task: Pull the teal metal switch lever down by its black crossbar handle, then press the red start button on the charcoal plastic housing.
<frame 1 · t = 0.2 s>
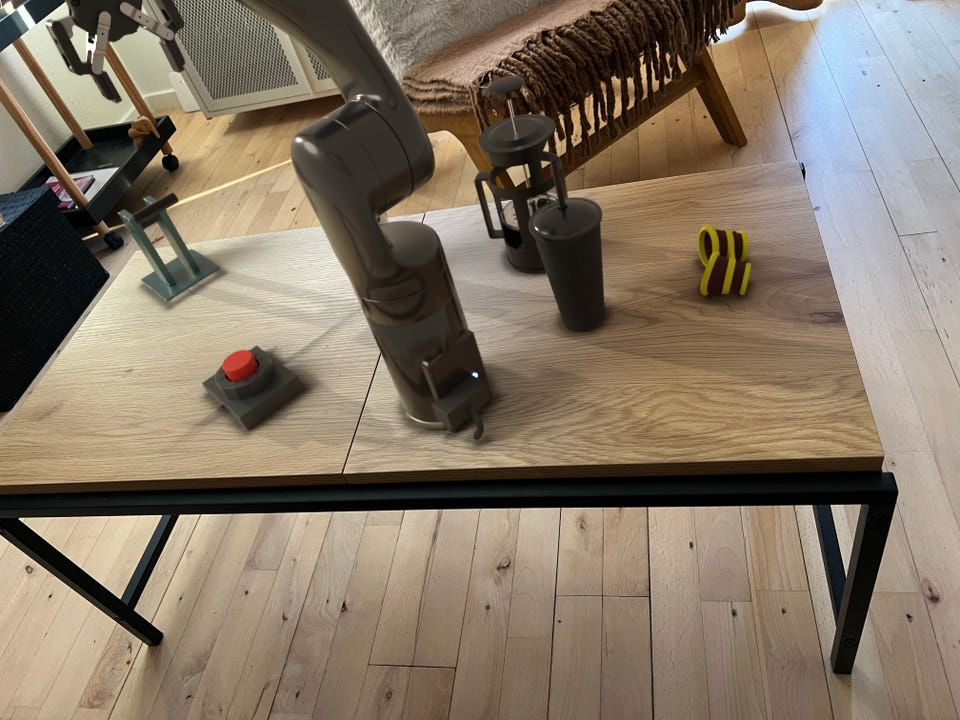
hand: (149, 86, 95), 29 cm above the table, tool pointing down, fingers open, 8 cm apart
button: (240, 365, 90), point 4 cm above the table, slide at 0.1 cm
french press: (539, 253, 101), on the table
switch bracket: (182, 279, 118), on the table
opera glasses: (724, 277, 89), on the table
button box: (256, 392, 93), on the table
lever: (150, 213, 107), point 13 cm above the table, hinge at 25.0°
beer glass: (384, 280, 105), on the table
drinking cup: (584, 319, 89), on the table
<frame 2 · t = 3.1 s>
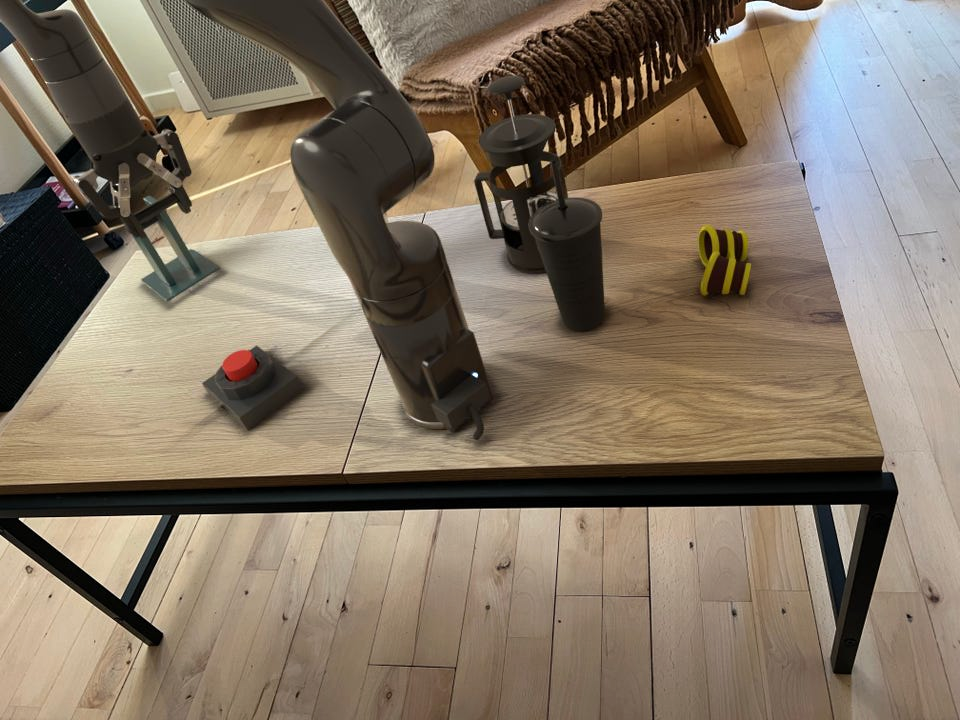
hand: (164, 223, 104), 13 cm above the table, tool pointing down, fingers closed on lever, 6 cm apart
lever: (150, 213, 107), point 13 cm above the table, hinge at 24.9°, touching gripper
everything else where it was.
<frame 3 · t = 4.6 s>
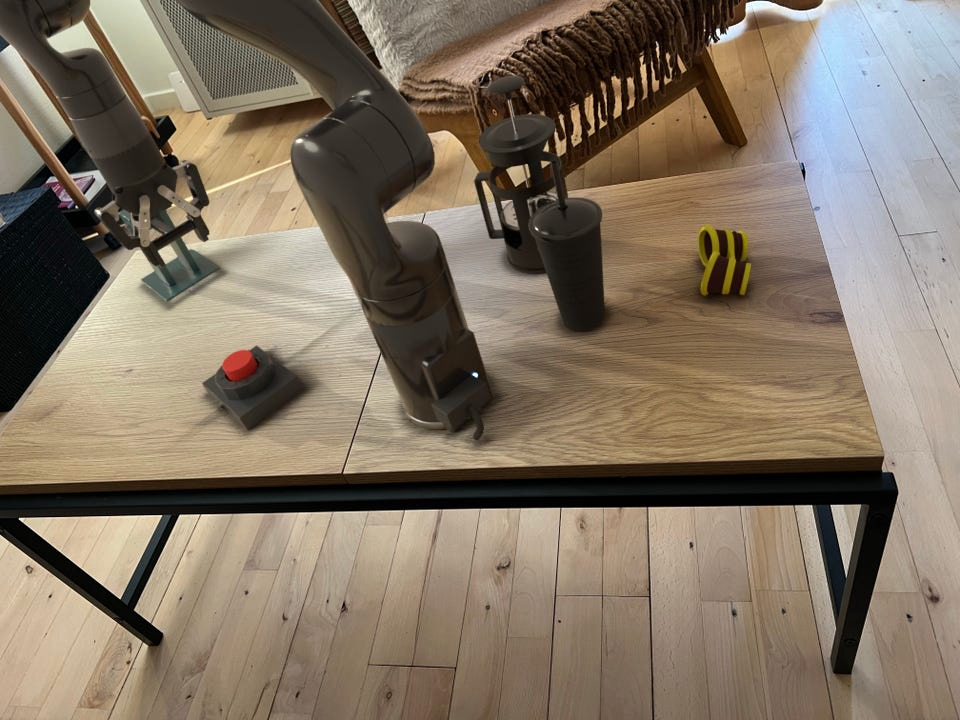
hand: (183, 251, 106), 9 cm above the table, tool pointing down, fingers closed on lever, 6 cm apart
lever: (158, 225, 107), point 11 cm above the table, hinge at 1.7°, touching gripper
everything else where it was.
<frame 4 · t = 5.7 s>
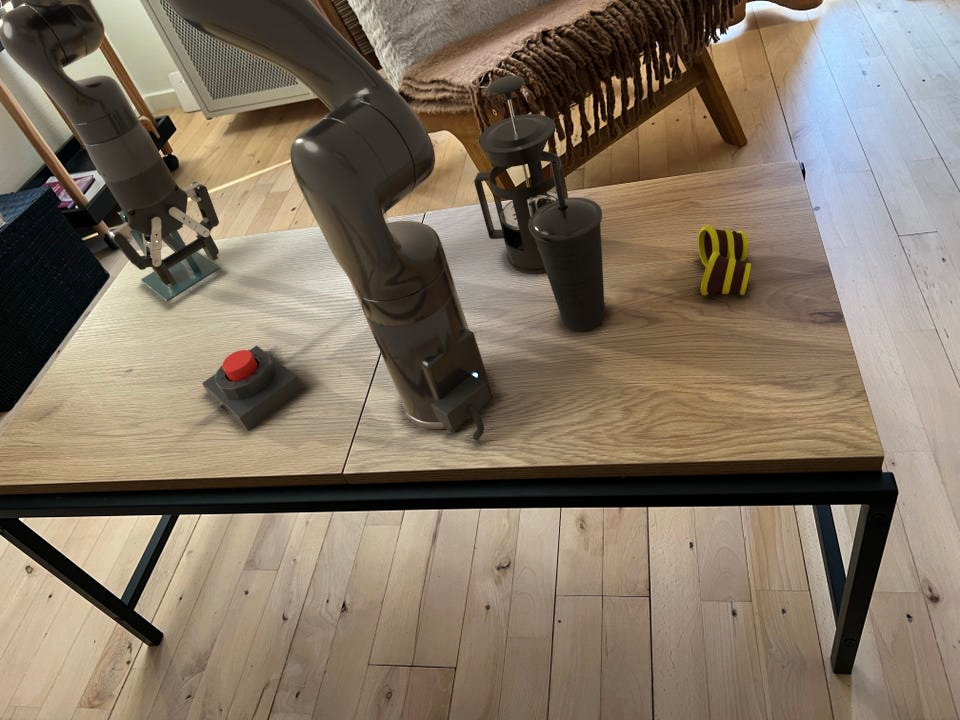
hand: (193, 270, 108), 5 cm above the table, tool pointing down, fingers closed on lever, 6 cm apart
lever: (162, 234, 109), point 10 cm above the table, hinge at -16.6°, touching gripper
everything else where it was.
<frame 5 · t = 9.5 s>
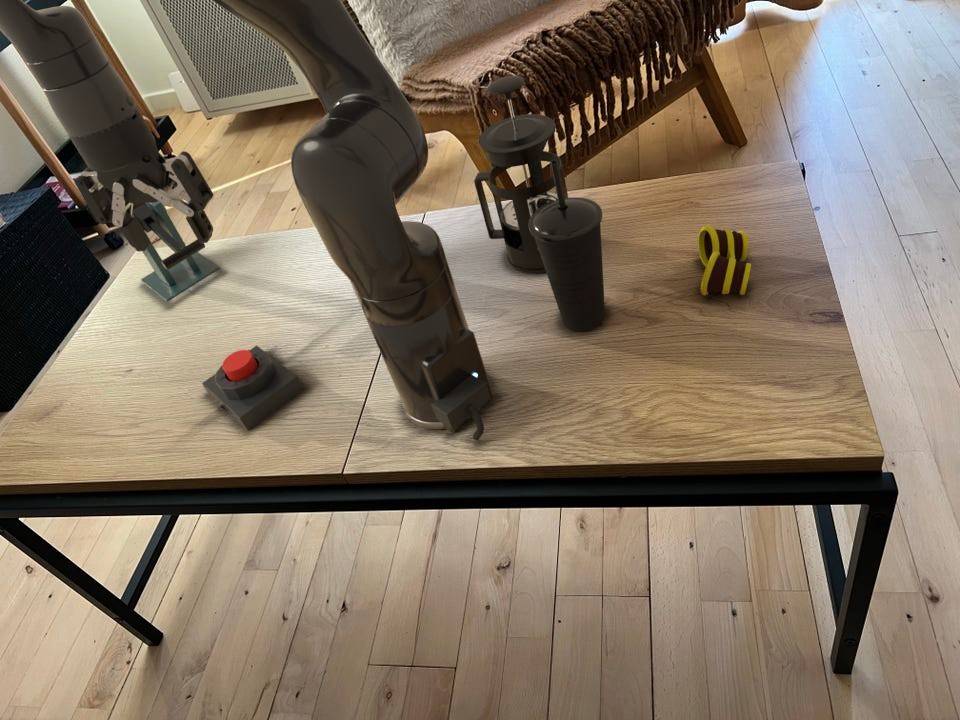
hand: (175, 243, 92), 16 cm above the table, tool pointing down, fingers open, 8 cm apart
lever: (163, 234, 109), point 10 cm above the table, hinge at -17.1°
everything else where it was.
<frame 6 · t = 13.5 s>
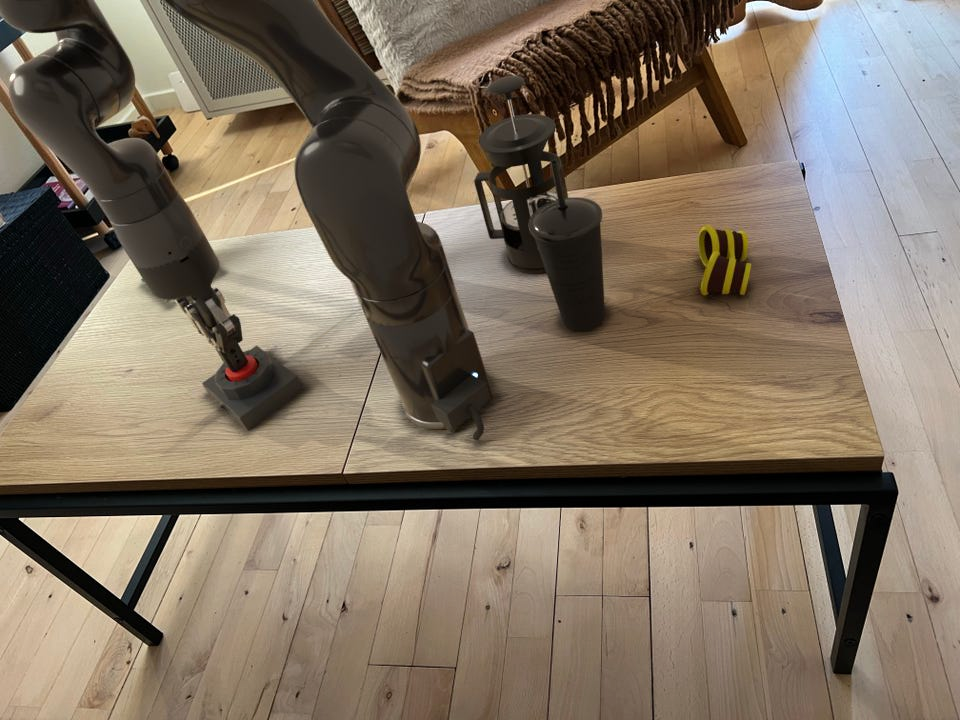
hand: (238, 366, 90), 4 cm above the table, tool pointing down, fingers closed
button: (243, 371, 91), point 4 cm above the table, slide at -0.8 cm, touching gripper
everything else where it was.
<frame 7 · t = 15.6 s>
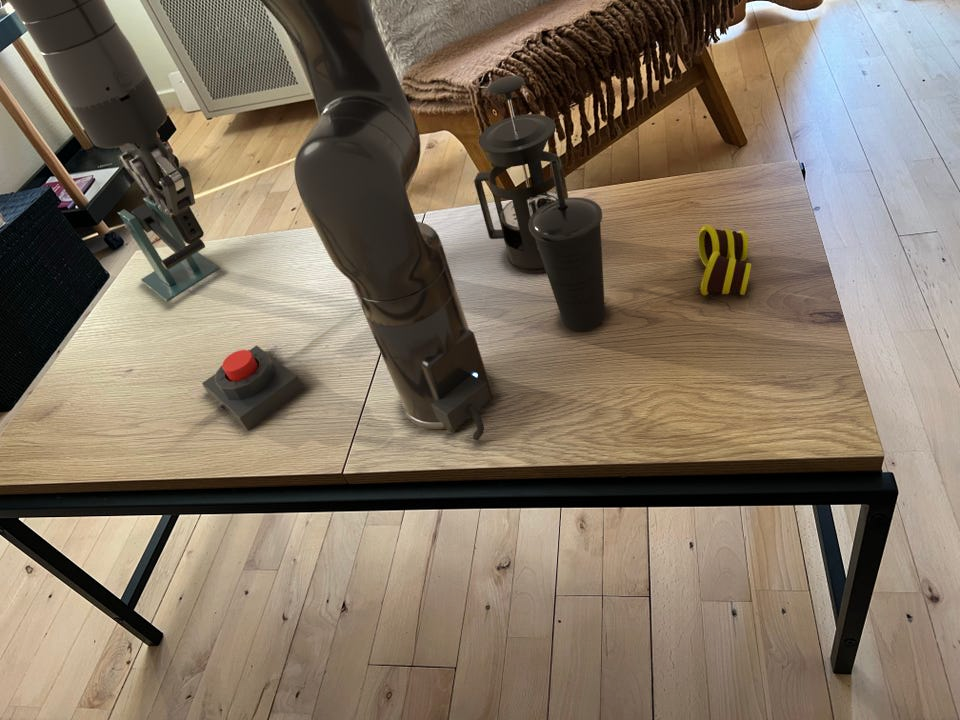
hand: (193, 238, 84), 19 cm above the table, tool pointing down, fingers closed
button: (240, 365, 90), point 4 cm above the table, slide at 0.1 cm
everything else where it was.
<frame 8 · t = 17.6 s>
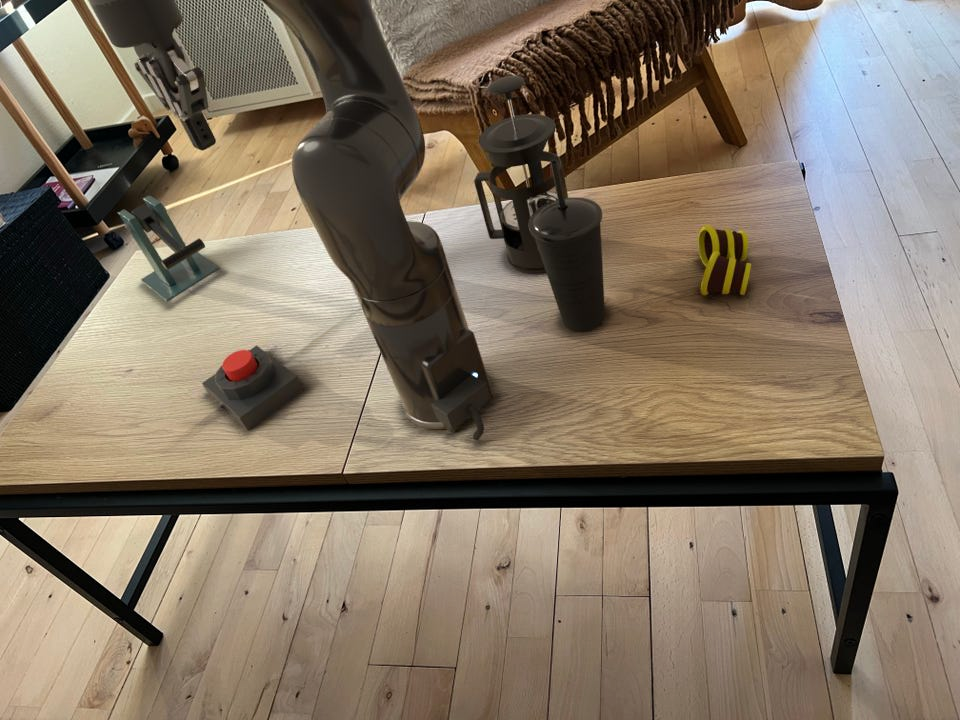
hand: (206, 146, 87), 25 cm above the table, tool pointing down, fingers closed
nothing on the table moved.
at the end: lever at -17° (first picture: +25°); button pushed in 1.2 cm at the most during the clip, back to where it started at the end; button slide at 0.1 cm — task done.
